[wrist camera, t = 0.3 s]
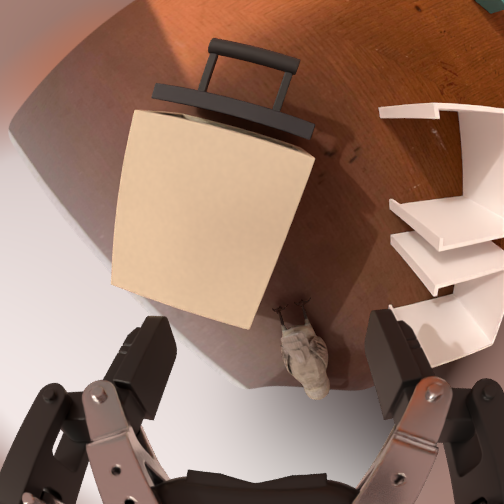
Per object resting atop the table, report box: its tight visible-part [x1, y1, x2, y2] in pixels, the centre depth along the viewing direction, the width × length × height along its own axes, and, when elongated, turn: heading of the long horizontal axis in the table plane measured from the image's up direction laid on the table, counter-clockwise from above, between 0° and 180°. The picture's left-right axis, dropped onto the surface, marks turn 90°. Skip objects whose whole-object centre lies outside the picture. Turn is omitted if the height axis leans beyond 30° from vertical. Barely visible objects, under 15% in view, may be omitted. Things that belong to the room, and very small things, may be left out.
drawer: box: [152, 38, 315, 140], centre depth 22 cm, size 18×12×8 cm, turn 163°
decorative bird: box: [272, 298, 330, 400], centre depth 33 cm, size 5×16×8 cm, turn 21°
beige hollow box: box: [111, 110, 315, 330], centre depth 25 cm, size 15×13×10 cm
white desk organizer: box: [379, 103, 504, 368], centre depth 23 cm, size 25×11×11 cm, turn 12°
